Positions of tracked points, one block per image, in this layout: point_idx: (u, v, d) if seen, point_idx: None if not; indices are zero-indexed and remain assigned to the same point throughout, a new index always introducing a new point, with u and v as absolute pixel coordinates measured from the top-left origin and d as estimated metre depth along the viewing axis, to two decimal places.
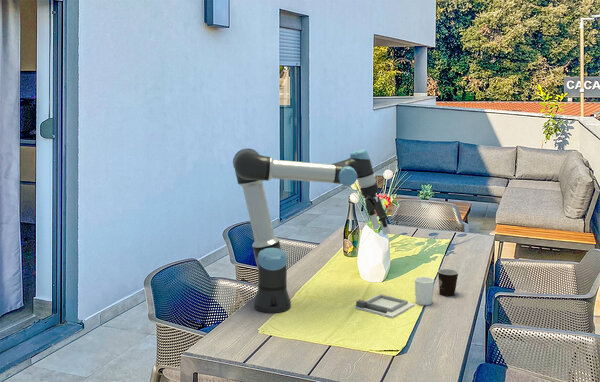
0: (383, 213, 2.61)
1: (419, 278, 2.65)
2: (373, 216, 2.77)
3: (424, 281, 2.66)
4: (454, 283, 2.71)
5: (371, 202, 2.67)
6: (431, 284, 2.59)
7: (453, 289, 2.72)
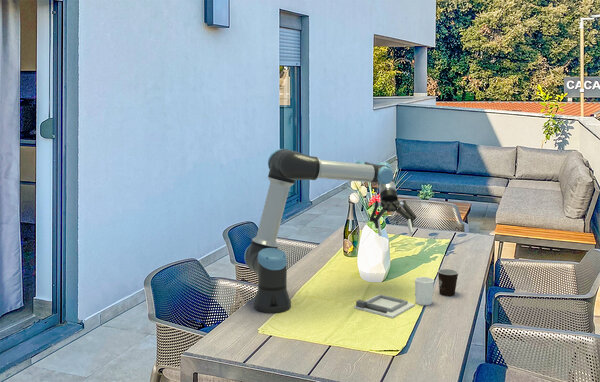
0: None
1: (419, 278, 2.65)
2: None
3: (424, 281, 2.66)
4: (454, 283, 2.71)
5: (397, 204, 2.75)
6: (431, 284, 2.59)
7: (453, 289, 2.72)
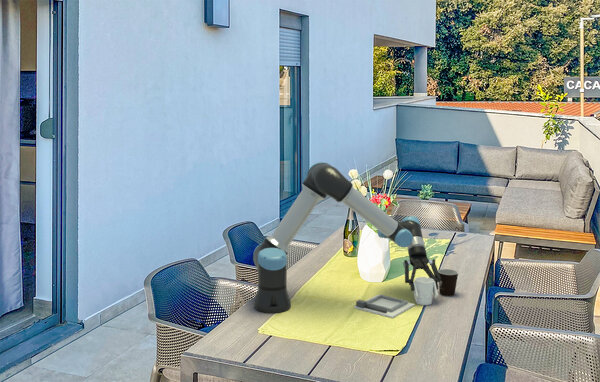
0: None
1: (419, 278, 2.65)
2: None
3: (424, 281, 2.66)
4: (454, 283, 2.71)
5: (425, 262, 2.68)
6: (431, 284, 2.59)
7: (453, 289, 2.72)
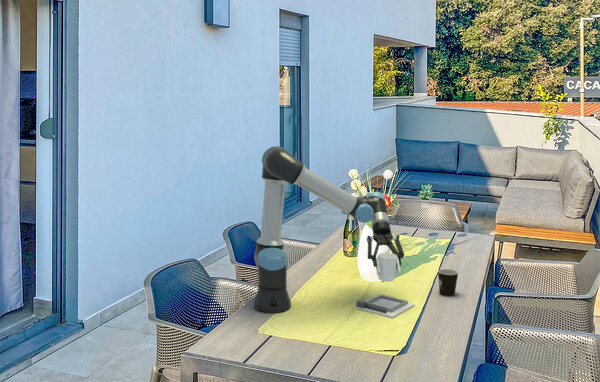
0: None
1: (382, 254, 2.59)
2: None
3: (387, 257, 2.59)
4: (454, 283, 2.71)
5: (389, 238, 2.61)
6: (393, 260, 2.53)
7: (453, 289, 2.72)
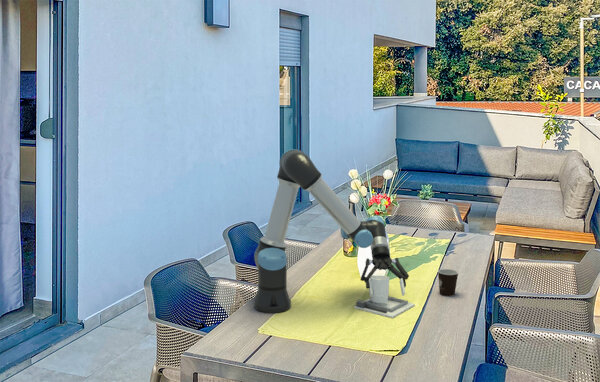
0: None
1: (375, 276, 2.61)
2: None
3: (380, 279, 2.61)
4: (454, 283, 2.71)
5: (389, 262, 2.63)
6: (386, 281, 2.55)
7: (453, 289, 2.72)
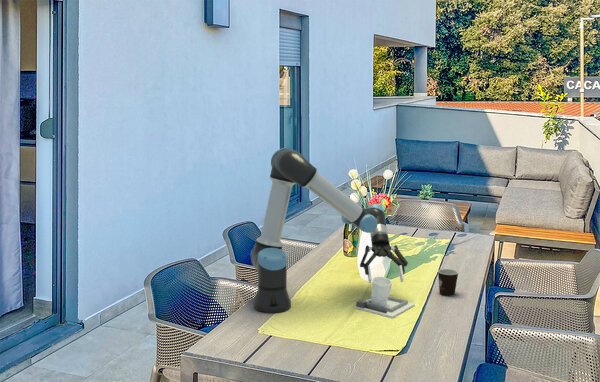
0: None
1: (377, 278, 2.59)
2: None
3: (382, 281, 2.60)
4: (454, 283, 2.71)
5: (388, 249, 2.67)
6: (388, 287, 2.53)
7: (453, 289, 2.72)
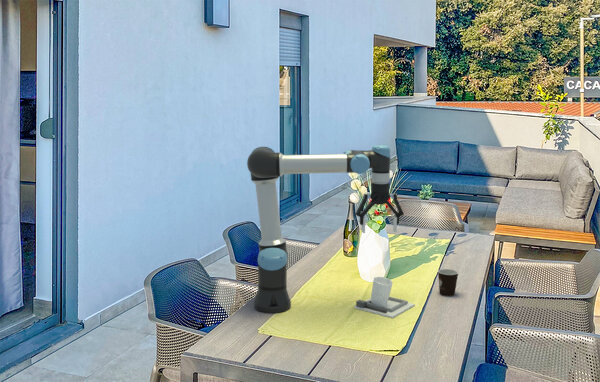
0: None
1: (378, 278, 2.60)
2: None
3: (382, 281, 2.60)
4: (454, 283, 2.71)
5: (387, 199, 2.62)
6: (389, 287, 2.54)
7: (453, 289, 2.72)
